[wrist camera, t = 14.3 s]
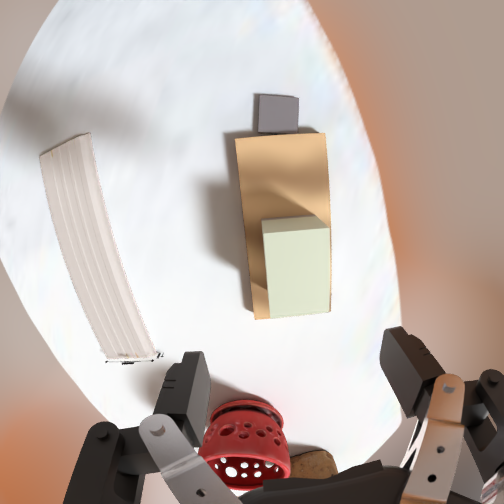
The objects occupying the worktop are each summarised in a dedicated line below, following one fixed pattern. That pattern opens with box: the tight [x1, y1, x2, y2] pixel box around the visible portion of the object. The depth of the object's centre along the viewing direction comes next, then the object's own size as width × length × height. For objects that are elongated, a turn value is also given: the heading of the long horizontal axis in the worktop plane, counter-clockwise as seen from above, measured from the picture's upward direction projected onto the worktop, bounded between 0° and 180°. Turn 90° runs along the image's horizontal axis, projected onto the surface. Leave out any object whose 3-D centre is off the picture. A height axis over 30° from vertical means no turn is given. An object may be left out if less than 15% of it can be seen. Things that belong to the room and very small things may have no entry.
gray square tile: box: [258, 95, 299, 134], centre depth 27 cm, size 4×4×1 cm
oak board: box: [235, 133, 331, 320], centre depth 30 cm, size 20×9×2 cm, turn 6°
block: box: [288, 451, 338, 479], centre depth 36 cm, size 11×8×20 cm
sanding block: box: [261, 214, 330, 319], centre depth 27 cm, size 8×6×6 cm
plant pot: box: [198, 400, 290, 491], centre depth 34 cm, size 13×13×12 cm
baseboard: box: [39, 133, 163, 365], centre depth 31 cm, size 30×3×10 cm
